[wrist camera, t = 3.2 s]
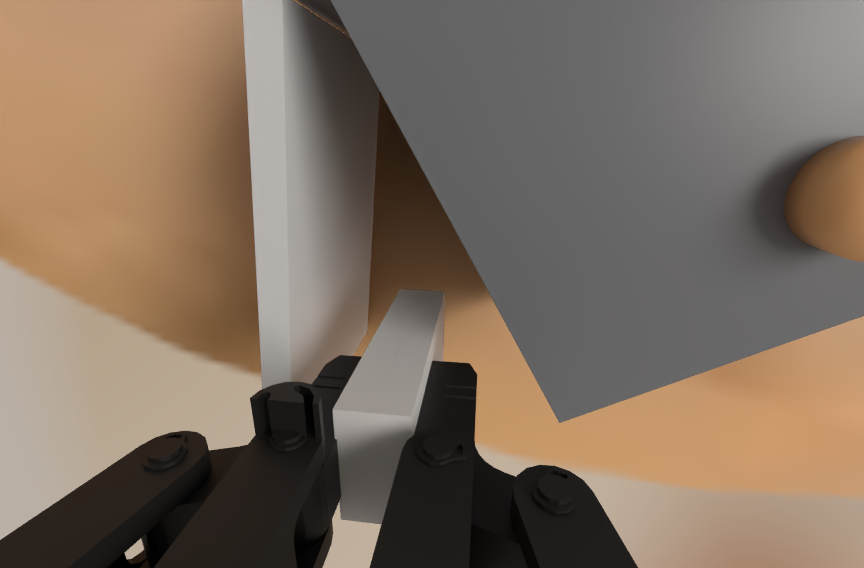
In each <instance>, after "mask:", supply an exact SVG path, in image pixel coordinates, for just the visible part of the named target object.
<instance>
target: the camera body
mask: <svg viewBox="0 0 864 568" xmlns="http://www.w3.org/2000/svg"><path fill="white" fill-rule="evenodd" d="M331 2H332V4H333V5H334V7H335V9H336V11H337V13H338V15H339V16H340V18H341V20H342V22H343V24H344V26H345V28H346V29H347V31H348V33H349V35H350V37H351V39H352V40H353V42H354V44H355V46H356V48H357V50H358V52H359V53H360V55H361V57H362V59H363V61H364V63H365V64H366V66H367V68H368V70H369V72H370V74H371V76H372V77H373V79H374V81H375V83H376V85H377V87H378V89H379V90H380V92H381V94H382V96H383V98H384V100H385V101H386V103H387V105H388V107H389V109H390V111H391V113H392V114H393V116H394V118H395V120H396V122H397V124H398V125H399V127H400V129H401V131H402V133H403V135H404V137H405V138H406V140H407V142H408V144H409V146H410V148H411V149H412V151H413V153H414V155H415V157H416V159H417V161H418V162H419V164H420V166H421V168H422V170H423V172H424V173H425V175H426V177H427V179H428V181H429V183H430V185H431V186H432V188H433V190H434V192H435V194H436V196H437V198H438V199H439V201H440V203H441V205H442V207H443V209H444V210H445V212H446V214H447V216H448V218H449V220H450V222H451V223H452V225H453V227H454V229H455V231H456V233H457V234H458V236H459V238H460V240H461V242H462V244H463V246H464V247H465V249H466V251H467V253H468V255H469V257H470V258H471V260H472V262H473V264H474V266H475V268H476V270H477V271H478V273H479V275H480V277H481V279H482V281H483V282H484V284H485V286H486V288H487V290H488V292H489V294H490V295H491V297H492V299H493V301H494V303H495V305H496V307H497V308H498V310H499V312H500V314H501V316H502V318H503V319H504V321H505V323H506V325H507V327H508V329H509V331H510V332H511V334H512V336H513V338H514V340H515V342H516V343H517V345H518V347H519V349H520V351H521V353H522V355H523V356H524V358H525V360H526V362H527V364H528V366H529V367H530V369H531V371H532V373H533V375H534V377H535V379H536V380H537V382H538V384H539V386H540V388H541V390H542V391H543V393H544V395H545V397H546V399H547V401H548V403H549V404H550V406H551V408H552V410H553V412H554V414H555V416H556V417H557V419H558V421H559V423H561V422H564V421H566V420H569V419H572V418H575V417H578V416H581V415H584V414H586V413H589V412H592V411H595V410H598V409H601V408H603V407H606V406H609V405H612V404H615V403H618V402H620V401H623V400H626V399H629V398H632V397H635V396H637V395H640V394H643V393H646V392H649V391H652V390H655V389H657V388H660V387H663V386H666V385H669V384H672V383H674V382H677V381H680V380H683V379H686V378H689V377H691V376H694V375H697V374H700V373H703V372H706V371H709V370H711V369H714V368H717V367H720V366H723V365H726V364H728V363H731V362H734V361H737V360H740V359H743V358H745V357H748V356H751V355H754V354H757V353H760V352H762V351H765V350H768V349H771V348H774V347H777V346H780V345H782V344H785V343H788V342H791V341H794V340H797V339H799V338H802V337H805V336H808V335H811V334H814V333H816V332H819V331H822V330H825V329H828V328H831V327H834V326H836V325H839V324H842V323H845V322H848V321H851V320H853V319H856V318H859V317H862V316H864V0H331Z"/></svg>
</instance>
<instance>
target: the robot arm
mask: <svg viewBox="0 0 864 568" xmlns="http://www.w3.org/2000/svg"><path fill="white" fill-rule="evenodd" d="M444 312H445V291H427V290H410V289H400V290H399V292H398V294H397V296H396V297H395V299H394V301H393V303H392V305H391V306H390V308H389V310H388V312H387V313H386V315H385V317H384V319H383V321H382V322H381V324H380V326H379V328H378V329H377V331H376V333H375V335H374V337H373V338H372V340H371V342H370V344H369V345H368V347H367V349H366V351H365V353H364V354H363V356H362V357H360V356H347V355H339V356H337V357H336V358H334V359H333V360H331V361H330V362H328V363H327V364H325V366H324V367H323V369H322V370H321V371H320V373H319V374H318V377H317V378H316V379H315V380H314V381H313V383H312V384H308V383H304V382H283V383H279V384H274V385H271V386H269V387H267V388H264V389H262V390H260V391H259V392H257V393H256V394H255V395H254V396H252V397H251V398H250V401H251V407H252V414H253V419H254V420H253V421H254V427H255V434H256V435H255V436H254V438H253V439H252V440H251V442H250V443H249V444H248V445H244V446H240V447H233V448H225V449H218V450H211V451H209V450H208V445H207V442H206V439H205V437H204V436H202V435H201V434H199V433H197V432H191V431H180V432H172V433H168V434H165V435H162V436H159V437H156V438H154V439H152V440H150V441H148V442H146V443H145V444H143V445H141V446H139V447H138V448H136V449H135V450H133V451H132V452H130V453H129V454H127V455H126V456H124V457H123V458H121V459H120V460H118V461H117V462H115V463H114V464H112V465H111V466H110V467H108V468H107V469H105V470H104V471H102V472H101V473H99V474H98V475H96V476H95V477H93V478H92V479H90V480H89V481H87V482H86V483H84V484H83V485H81V486H80V487H78V488H77V489H75V490H74V491H72V492H71V493H70V494H68V495H67V496H65V497H64V498H62V499H61V500H59V501H58V502H56V503H55V504H53V505H52V506H50V507H49V508H47V509H46V510H44V511H43V512H41V513H40V514H38V515H37V516H35V517H34V518H32V519H31V520H29V521H28V522H26V523H25V524H23V525H22V526H21V527H19V528H17V529H16V530H15V531H13V532H12V533H10V534H9V535H7V536H6V537H4V538H3V539H1V540H0V568H322V567H323V565H324V562H325V559H326V557H327V554H328V551H329V548H330V546H331V543H332V535H333V527H332V517H333V515H334V513H335V510H336V508H337V505H338V503H339V500H340V512H341V519H342V520H350V521H351V520H352V521H359V522H367V523H375V524H382V525H381V528H380V532H379V536H378V540H377V543H376V547H375V550H374V554H373V558H372V561H371V565H370V568H638V567H637V565H636V564H635V562H634V560H633V558H632V557H631V555H630V553H629V552H628V550H627V548H626V547H625V545H624V543H623V542H622V540H621V538H620V537H619V535H618V533H617V531H616V530H615V528H614V526H613V525H612V523H611V521H610V520H609V518H608V516H607V515H606V513H605V511H604V509H603V508H602V506H601V504H600V503H599V501H598V499H597V498H596V496H595V494H594V493H593V491H592V490H591V489H590V488H589V486H588V485H587V484H586V483H585V482H584V481H583V480H582V479H581V478H579V477H578V476H576V475H575V474H573V473H572V472H570V471H568V470H565V469H562V468H559V467H556V466H548V465H537V466H533V467H529V468H526V469H525V470H524V471H522V472H521V473H520V474H518V475H517V477H515V476H513V475H510V474H507V473H504V472H502V471H500V470H498V469H496V468H494V467H492V466H491V465H489V464H488V463H487V462H485V461H484V460H483V459H482V457H481V456H480V455H479V453H478V451H477V449H476V447H475V441H474V436H475V412H476V388H477V374H476V372H475V371H474V369H473V368H472V366H471V365H470V363H457V362H444V361H443V349H444ZM140 538H141V539H142V543H143V546H144V550H143V551H142V552H141V553H140V554H138V555H137V556H135V557H134V558H132V559H128V560H127V559H126V556H125V553H124V552H126V551H127V550H128V549H129V548H130V547H131V546H132V545H134V544H135V543H136V542H137V541H138V540H139V539H140Z"/></svg>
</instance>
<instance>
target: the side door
mask: <svg viewBox="0 0 864 568" xmlns="http://www.w3.org/2000/svg"><path fill="white" fill-rule="evenodd" d="M297 1H299V2H300V3H302V4H303V5H305V6H306V7H308V8H309V9H311V10H312V11H314V12H315V13H317V14H318V15H320V16H321V17H323V18H324V19H325V20H327V21H328V22H330V23H331V24H333V25H334V26H336V27H337V28H339V29H340V30H342V31H343V32H345V33H346V34H348V35H349V33H348V31H347V29H346V28H345V26H344V24H343V22H342V20H341V18H340V16H339V15H338V13H337V11H336V9H335V7H334V5H333V4H332V2H331V0H297ZM242 6H243V25H244V45H245V64H246V83H247V102H248V122H249V141H250V160H251V180H252V199H253V218H254V237H255V257H256V276H257V295H258V314H259V334H260V353H261V372H262V389H264V388H267V387H269V386H271V385H274V384H279V383H283V382H304V383H308V384H312V383H313V381H314V380H315V379H316V378H317V377H318V374H319V373H320V371H321V370H322V369H323V367H324V366H325V364H327V363H328V362H330V361H331V360H333V359H334V358H336V357H337V356H339V355H347V356H353V355H354V353H355V352H356V350H357V348H358V346H359V345H360V343H361V341H362V340H363V338H364V336H365V334H366V333H367V327H368V307H369V288H370V268H371V248H372V228H373V209H374V189H375V169H376V150H377V130H378V110H379V89H378V87H377V85H376V83H375V81H374V79H373V77H372V76H371V74H370V72H369V70H368V68H367V66H366V64H365V63H364V61H363V59H362V57H361V55H360V53H359V52H358V50H357V48H356V46H355V44H354V42H353V40H352V39H351V38H349V37H348V36H346V35H345V34H343V33H342V32H340V31H339V30H337V29H336V28H334V27H332V26H331V25H329V24H328V23H326V22H325V21H323V20H322V19H320V18H319V17H317V16H316V15H314V14H313V13H311V12H310V11H308V10H307V9H305V8H304V7H302V6H301V5H299V4H298V3H296V2H295V1H293V0H242ZM349 36H350V35H349Z"/></svg>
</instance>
